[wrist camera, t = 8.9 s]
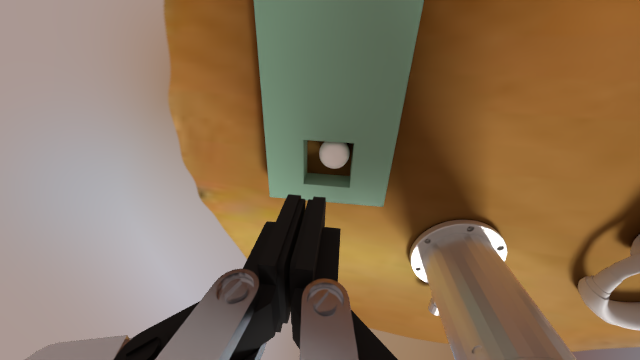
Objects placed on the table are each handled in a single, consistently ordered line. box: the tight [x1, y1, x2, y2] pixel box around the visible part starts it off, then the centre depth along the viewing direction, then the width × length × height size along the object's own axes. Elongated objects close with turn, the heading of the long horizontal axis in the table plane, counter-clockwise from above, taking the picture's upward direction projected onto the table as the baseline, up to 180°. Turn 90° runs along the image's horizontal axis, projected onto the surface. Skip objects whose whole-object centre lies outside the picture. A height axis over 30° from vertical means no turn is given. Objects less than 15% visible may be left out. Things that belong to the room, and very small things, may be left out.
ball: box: [319, 141, 350, 169], centre depth 27 cm, size 4×4×4 cm
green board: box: [254, 0, 424, 207], centre depth 24 cm, size 26×14×3 cm, turn 178°
